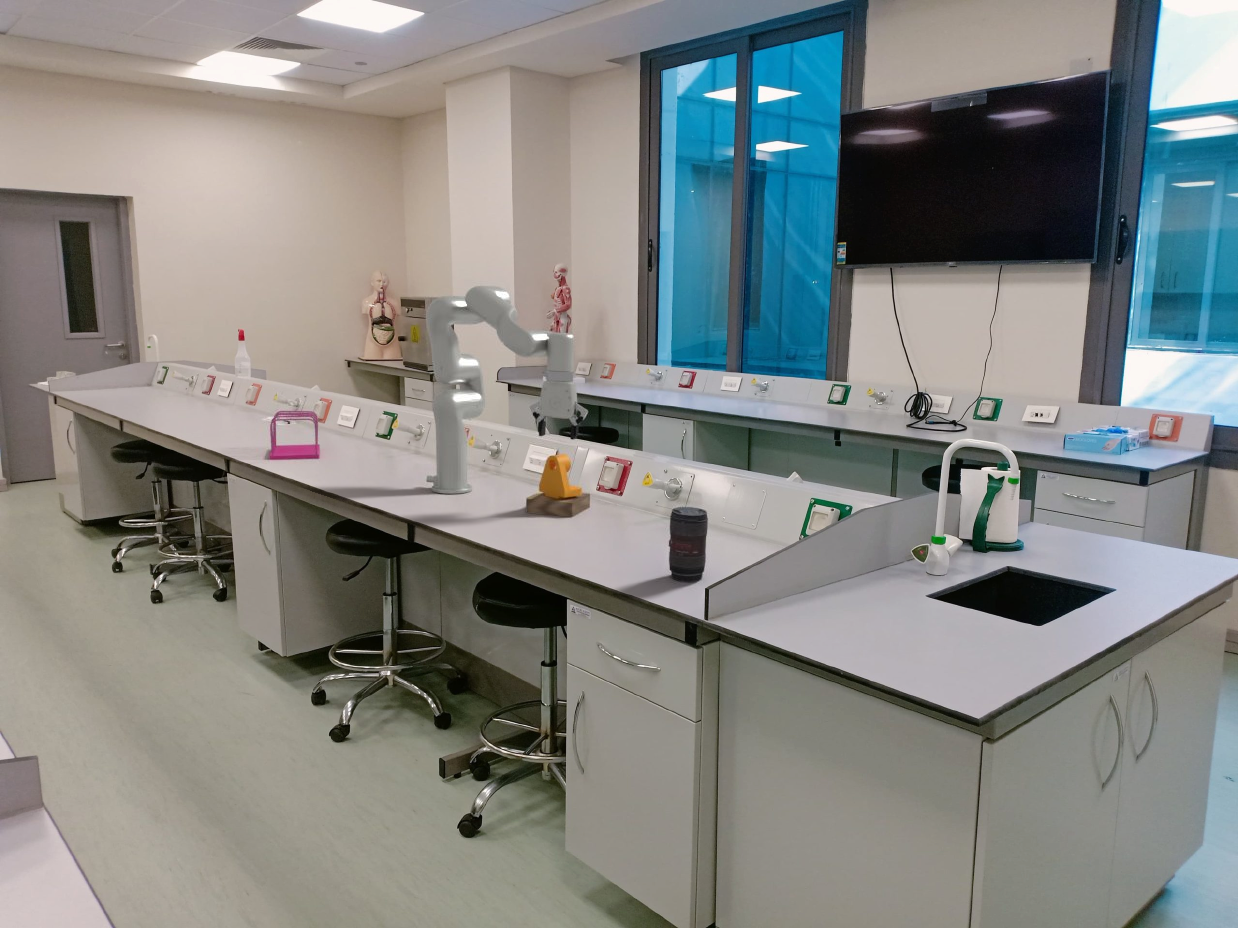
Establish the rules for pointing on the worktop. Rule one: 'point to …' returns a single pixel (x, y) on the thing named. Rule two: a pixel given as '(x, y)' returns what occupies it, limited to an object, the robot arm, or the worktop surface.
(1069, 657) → the worktop surface
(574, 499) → the dock
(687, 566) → the camera lens
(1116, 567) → the worktop surface
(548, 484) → the bracket
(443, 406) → the robot arm
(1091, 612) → the worktop surface
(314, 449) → the file sorter
